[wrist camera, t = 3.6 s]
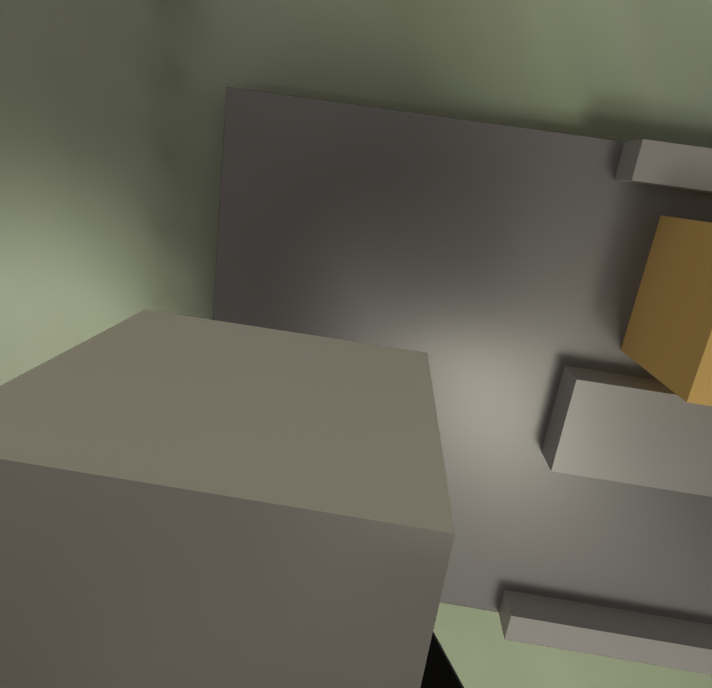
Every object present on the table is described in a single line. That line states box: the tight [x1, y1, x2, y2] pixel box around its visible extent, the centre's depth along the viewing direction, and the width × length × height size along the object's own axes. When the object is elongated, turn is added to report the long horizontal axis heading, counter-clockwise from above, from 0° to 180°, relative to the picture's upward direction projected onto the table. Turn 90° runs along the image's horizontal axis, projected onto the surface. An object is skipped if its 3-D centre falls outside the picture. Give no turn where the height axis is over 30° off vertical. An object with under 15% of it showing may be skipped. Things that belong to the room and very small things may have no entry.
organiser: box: [213, 87, 712, 675], centre depth 17 cm, size 23×16×3 cm
